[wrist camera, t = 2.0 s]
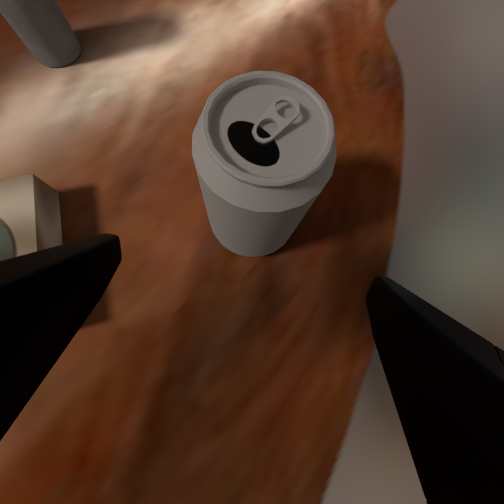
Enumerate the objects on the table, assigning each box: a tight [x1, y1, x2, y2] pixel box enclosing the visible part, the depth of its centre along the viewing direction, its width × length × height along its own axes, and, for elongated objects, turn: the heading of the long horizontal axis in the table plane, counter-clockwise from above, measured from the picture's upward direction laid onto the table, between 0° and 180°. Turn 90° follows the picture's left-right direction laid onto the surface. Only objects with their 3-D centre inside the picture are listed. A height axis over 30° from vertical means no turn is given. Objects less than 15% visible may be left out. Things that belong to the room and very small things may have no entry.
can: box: [192, 71, 337, 257], centre depth 17 cm, size 8×8×12 cm
